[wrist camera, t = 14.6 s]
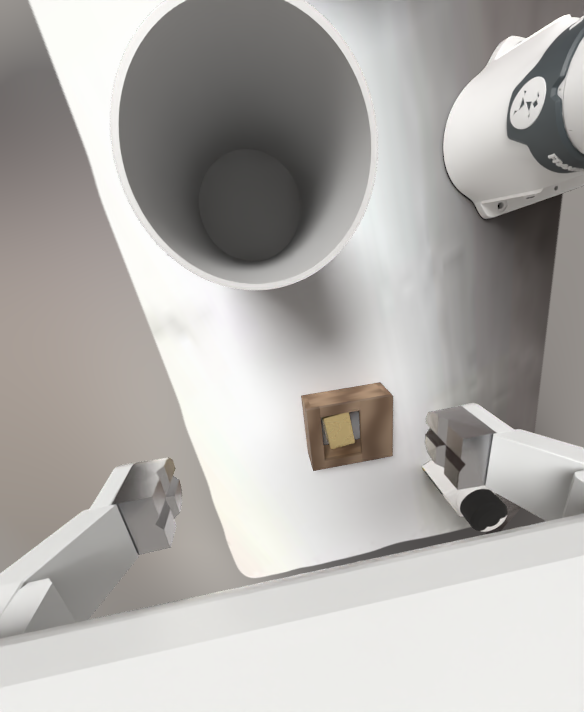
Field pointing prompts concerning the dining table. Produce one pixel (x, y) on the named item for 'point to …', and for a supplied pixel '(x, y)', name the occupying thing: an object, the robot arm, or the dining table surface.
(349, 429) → the brushed brass pillar
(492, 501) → the medicine bottle
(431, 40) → the dining table surface
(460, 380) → the dining table surface
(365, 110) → the cylinder vase
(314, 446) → the brown wooden frame
